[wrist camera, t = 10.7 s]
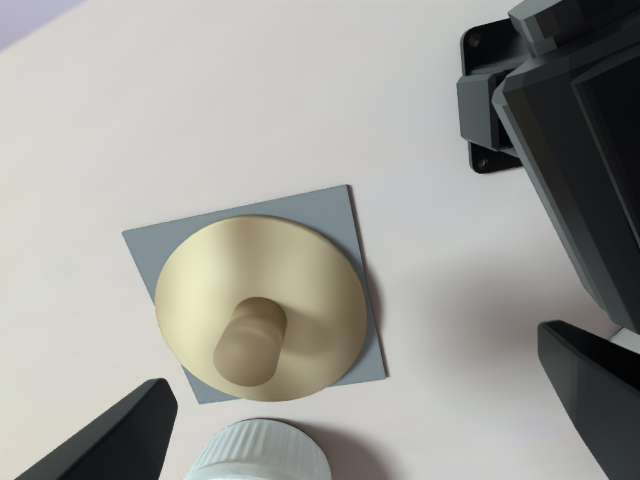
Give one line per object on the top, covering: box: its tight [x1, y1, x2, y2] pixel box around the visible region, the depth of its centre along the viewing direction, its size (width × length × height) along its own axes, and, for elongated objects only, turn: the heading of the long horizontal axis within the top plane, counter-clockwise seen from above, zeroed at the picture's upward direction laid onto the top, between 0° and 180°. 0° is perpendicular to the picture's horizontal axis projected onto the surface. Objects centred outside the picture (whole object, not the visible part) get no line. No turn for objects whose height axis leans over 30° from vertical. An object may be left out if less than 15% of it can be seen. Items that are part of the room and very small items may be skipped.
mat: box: [122, 185, 386, 404], centre depth 22 cm, size 13×13×1 cm
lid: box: [155, 214, 367, 402], centre depth 20 cm, size 12×12×4 cm
